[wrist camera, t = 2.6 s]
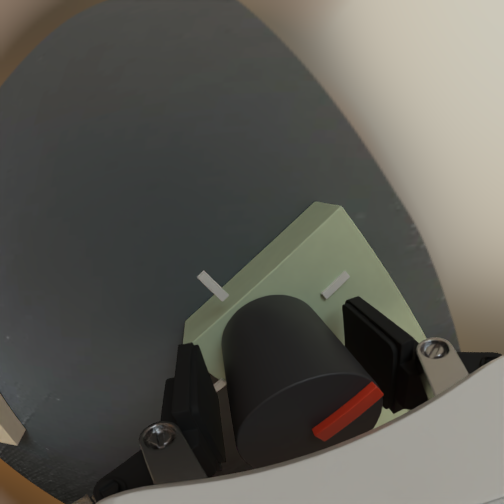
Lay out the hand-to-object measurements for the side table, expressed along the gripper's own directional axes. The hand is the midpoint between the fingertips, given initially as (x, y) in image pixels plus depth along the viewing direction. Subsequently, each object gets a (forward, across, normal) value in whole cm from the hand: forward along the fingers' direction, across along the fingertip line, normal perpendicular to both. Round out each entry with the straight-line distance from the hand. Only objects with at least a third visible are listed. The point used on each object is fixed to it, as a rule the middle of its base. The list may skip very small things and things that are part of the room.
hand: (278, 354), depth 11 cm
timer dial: (+1, 0, 0) cm, 1 cm away
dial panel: (+4, -4, +4) cm, 7 cm away
